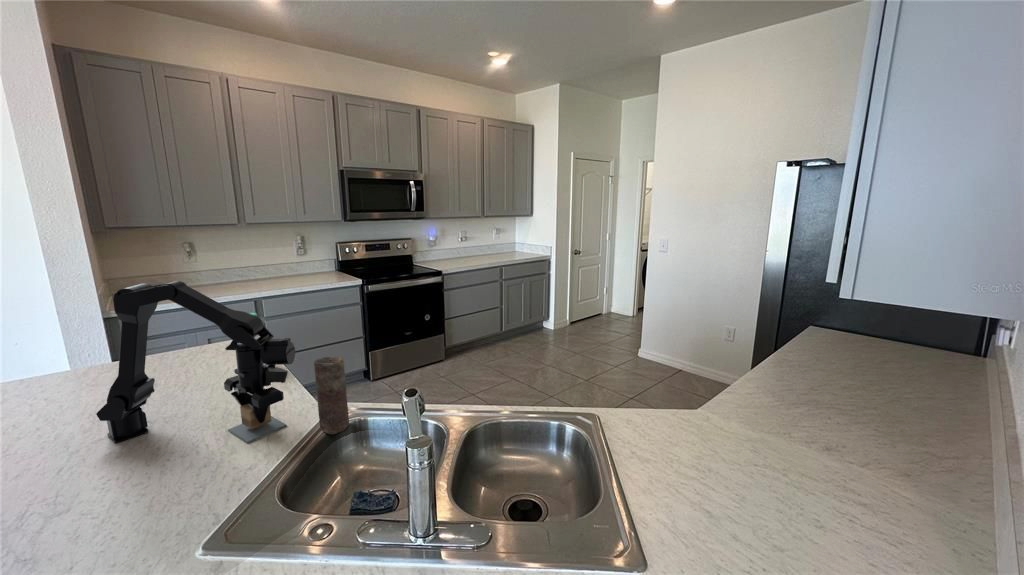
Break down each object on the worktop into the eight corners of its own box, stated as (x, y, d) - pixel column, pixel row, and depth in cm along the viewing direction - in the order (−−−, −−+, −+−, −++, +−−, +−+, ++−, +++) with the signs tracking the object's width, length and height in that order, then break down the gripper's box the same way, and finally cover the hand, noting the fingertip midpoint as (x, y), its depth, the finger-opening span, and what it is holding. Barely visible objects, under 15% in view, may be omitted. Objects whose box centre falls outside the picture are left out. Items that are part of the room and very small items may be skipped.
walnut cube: (251, 429, 106) (249, 412, 105) (242, 423, 109) (240, 406, 108) (271, 421, 110) (269, 404, 109) (261, 415, 113) (259, 399, 112)
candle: (313, 429, 110) (307, 360, 106) (336, 417, 116) (331, 351, 112) (332, 438, 107) (327, 366, 102) (355, 425, 113) (351, 356, 109)
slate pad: (247, 443, 103) (247, 441, 103) (228, 431, 108) (227, 429, 108) (286, 426, 111) (286, 424, 111) (267, 415, 117) (266, 413, 117)
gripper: (301, 363, 108) (305, 416, 111) (263, 347, 118) (268, 397, 121) (256, 377, 99) (262, 435, 102) (219, 359, 108) (226, 413, 112)
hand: (256, 419), depth 109 cm, fingers closed on walnut cube, 5 cm apart
